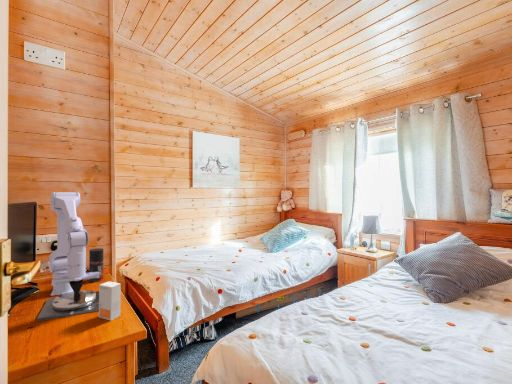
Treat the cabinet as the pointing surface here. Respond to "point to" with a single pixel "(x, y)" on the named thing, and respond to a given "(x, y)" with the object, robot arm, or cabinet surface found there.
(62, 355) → the cabinet surface
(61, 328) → the cabinet surface
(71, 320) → the cabinet surface
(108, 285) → the skincare box
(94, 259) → the deodorant
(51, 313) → the base plate
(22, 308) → the cabinet surface
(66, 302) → the flat grey disc
